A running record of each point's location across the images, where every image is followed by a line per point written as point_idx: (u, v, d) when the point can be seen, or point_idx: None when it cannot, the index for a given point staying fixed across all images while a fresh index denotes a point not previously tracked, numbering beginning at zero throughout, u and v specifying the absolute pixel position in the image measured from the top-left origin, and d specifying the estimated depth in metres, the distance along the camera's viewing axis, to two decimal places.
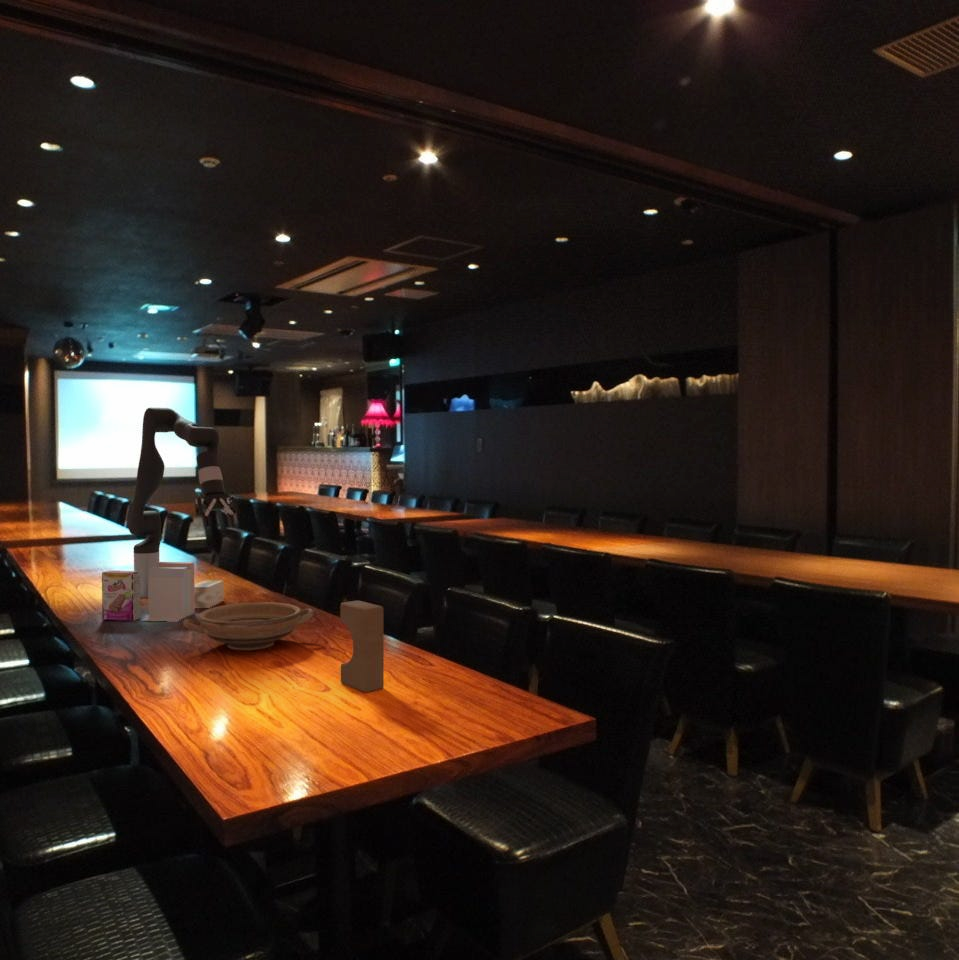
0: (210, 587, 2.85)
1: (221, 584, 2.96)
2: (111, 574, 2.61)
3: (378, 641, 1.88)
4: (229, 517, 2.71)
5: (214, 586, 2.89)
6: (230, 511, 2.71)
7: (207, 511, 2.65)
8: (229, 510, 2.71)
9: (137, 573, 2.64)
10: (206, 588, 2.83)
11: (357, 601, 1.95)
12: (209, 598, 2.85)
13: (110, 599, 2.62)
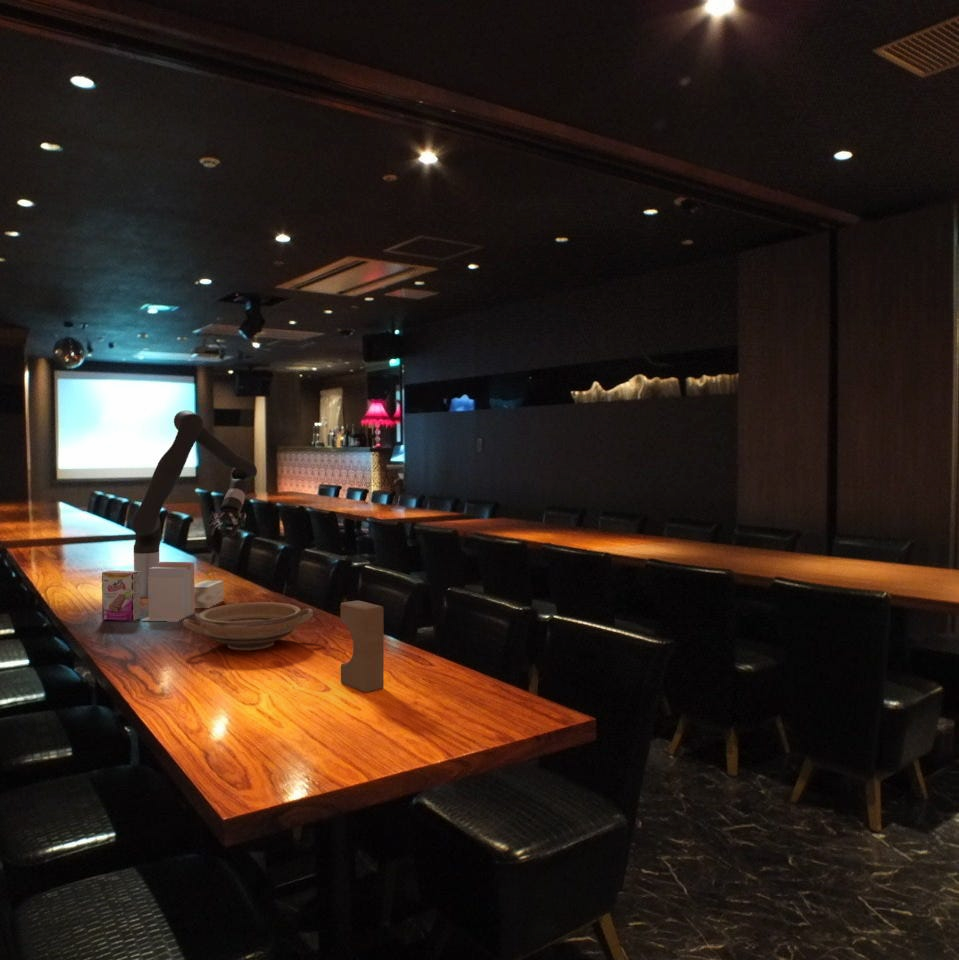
0: (210, 587, 2.85)
1: (221, 584, 2.96)
2: (111, 574, 2.61)
3: (378, 641, 1.88)
4: (214, 528, 3.07)
5: (214, 586, 2.89)
6: None
7: None
8: None
9: (137, 573, 2.64)
10: (206, 588, 2.83)
11: (357, 601, 1.95)
12: (209, 598, 2.85)
13: (110, 599, 2.62)
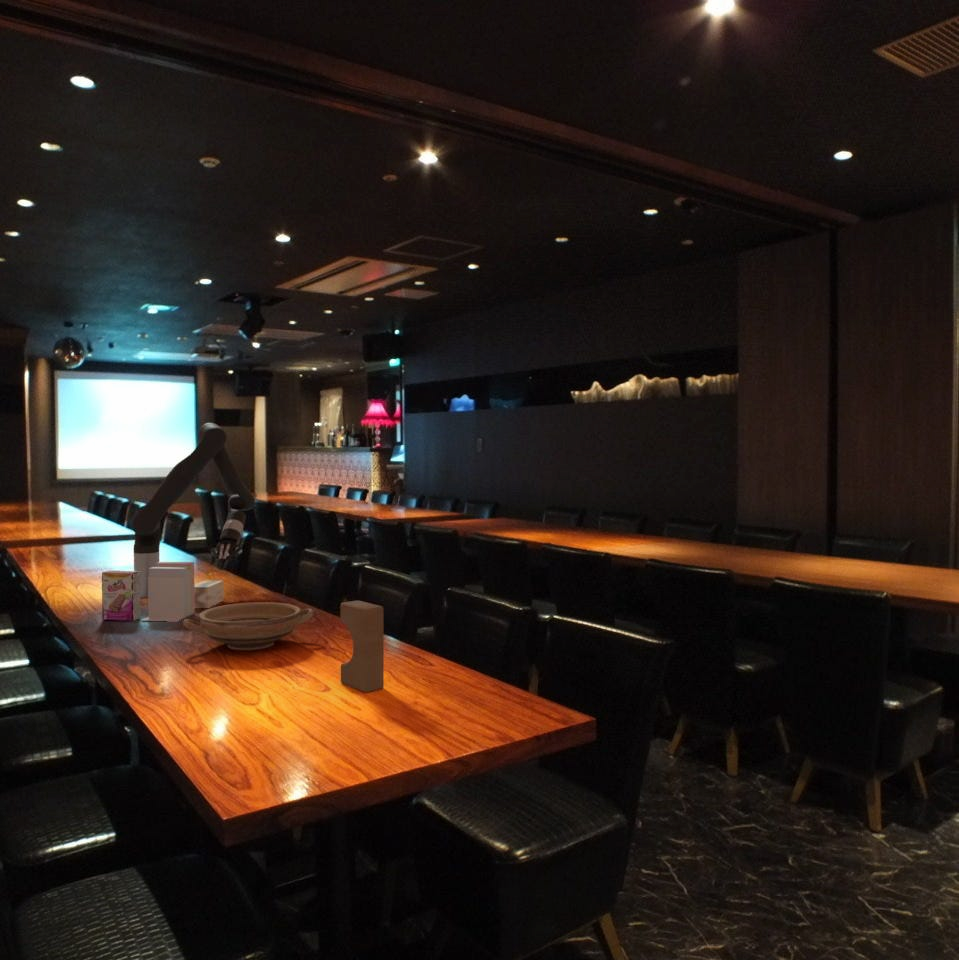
0: (210, 587, 2.85)
1: (221, 584, 2.96)
2: (111, 574, 2.61)
3: (378, 641, 1.88)
4: None
5: (214, 586, 2.89)
6: None
7: None
8: None
9: (137, 573, 2.64)
10: (206, 588, 2.83)
11: (357, 601, 1.95)
12: (209, 598, 2.85)
13: (110, 599, 2.62)
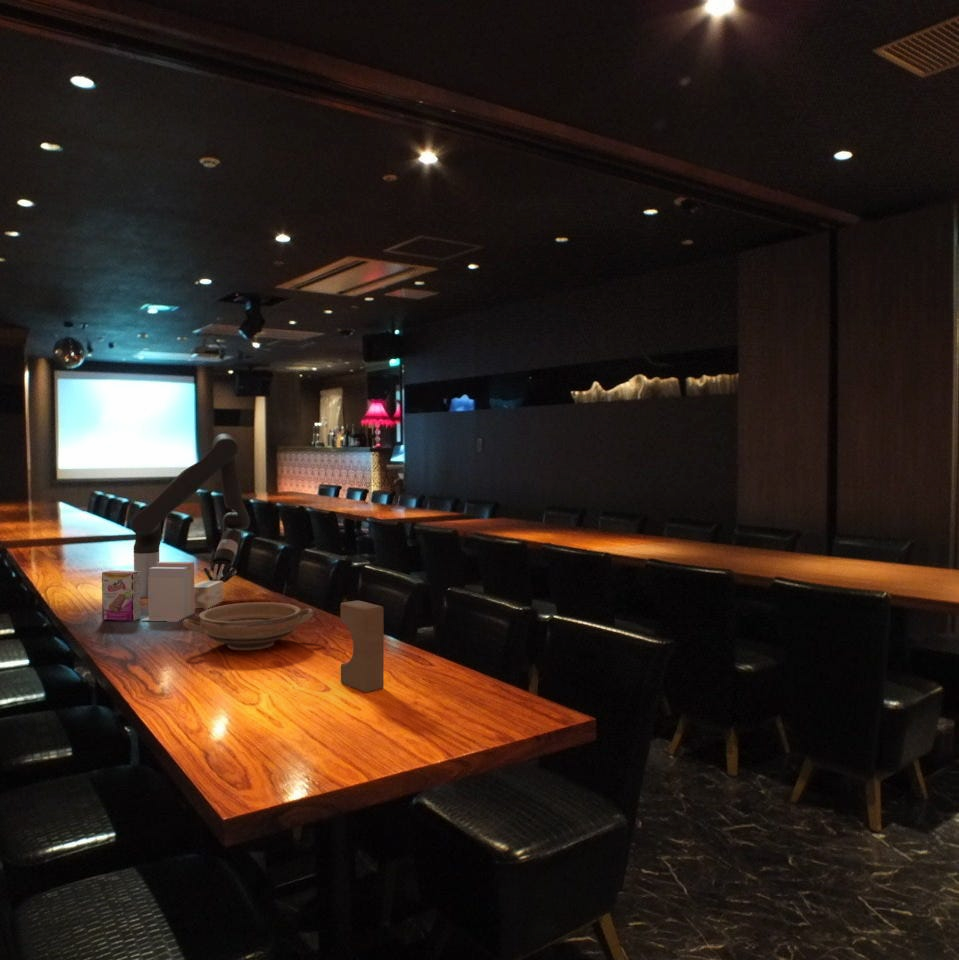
0: (210, 587, 2.85)
1: (221, 584, 2.95)
2: (111, 574, 2.61)
3: (378, 641, 1.88)
4: None
5: (214, 586, 2.88)
6: None
7: None
8: None
9: (137, 573, 2.64)
10: (206, 588, 2.82)
11: (357, 601, 1.95)
12: (209, 598, 2.84)
13: (110, 599, 2.62)
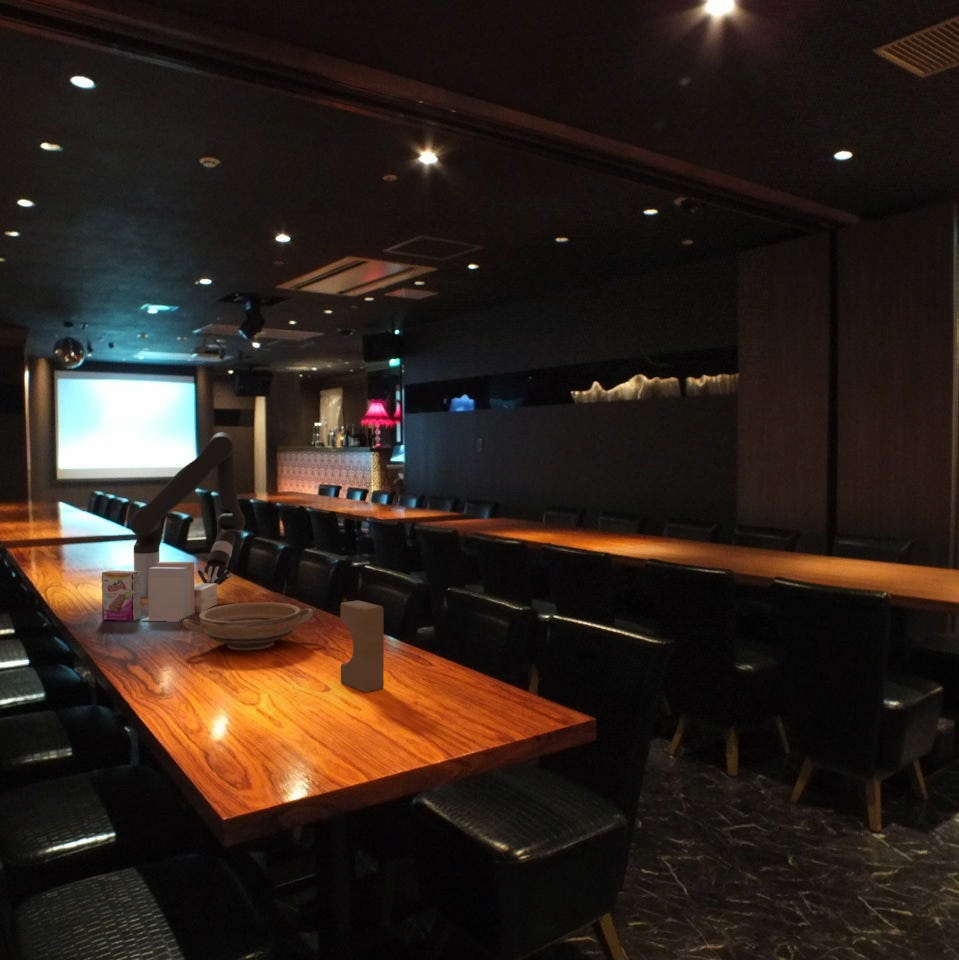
0: (204, 590, 2.79)
1: (215, 586, 2.89)
2: (111, 574, 2.61)
3: (378, 641, 1.88)
4: None
5: (208, 589, 2.82)
6: None
7: None
8: None
9: (137, 573, 2.64)
10: (200, 591, 2.76)
11: (357, 601, 1.95)
12: (203, 601, 2.78)
13: (110, 599, 2.62)
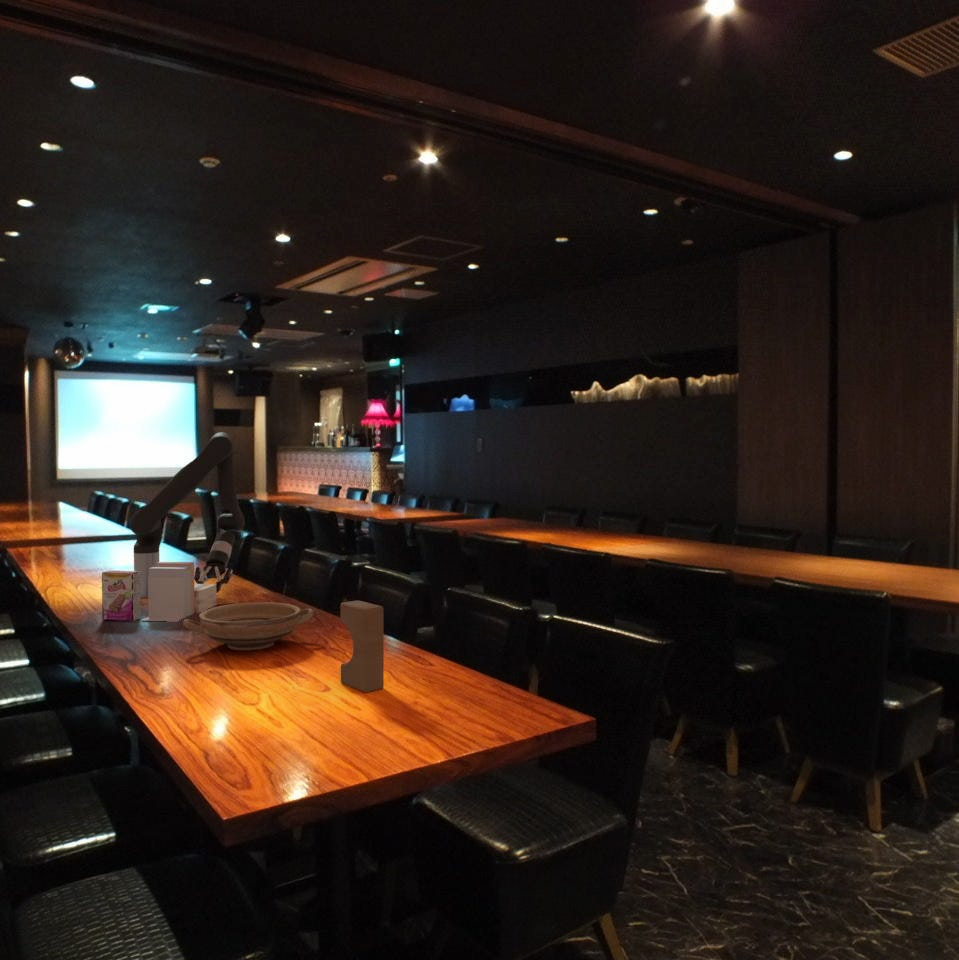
0: (201, 591, 2.77)
1: (215, 587, 2.88)
2: (111, 574, 2.61)
3: (378, 641, 1.88)
4: None
5: (206, 590, 2.81)
6: None
7: None
8: None
9: (137, 573, 2.64)
10: (197, 592, 2.75)
11: (357, 601, 1.95)
12: (201, 602, 2.77)
13: (110, 599, 2.62)
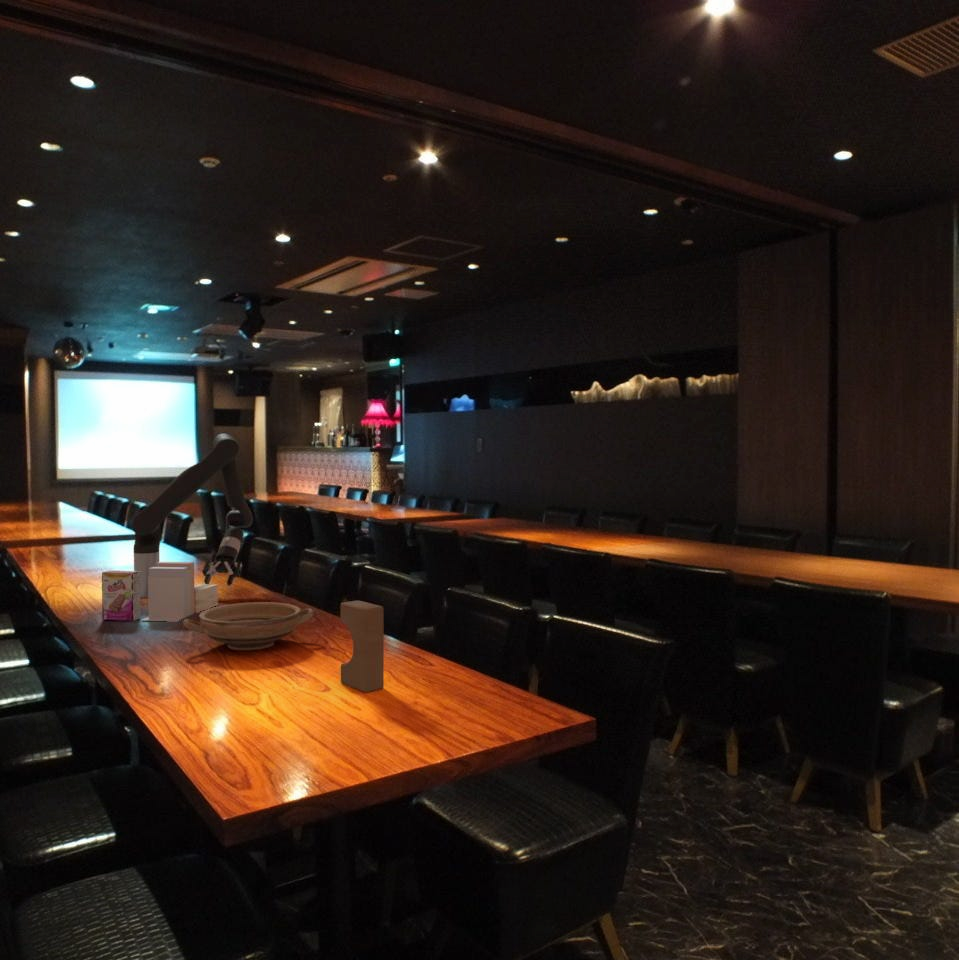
0: (199, 591, 2.77)
1: (216, 587, 2.87)
2: (111, 574, 2.61)
3: (378, 641, 1.88)
4: (209, 578, 3.03)
5: (205, 590, 2.81)
6: None
7: None
8: None
9: (137, 573, 2.64)
10: (194, 592, 2.75)
11: (357, 601, 1.95)
12: (199, 603, 2.77)
13: (110, 599, 2.62)
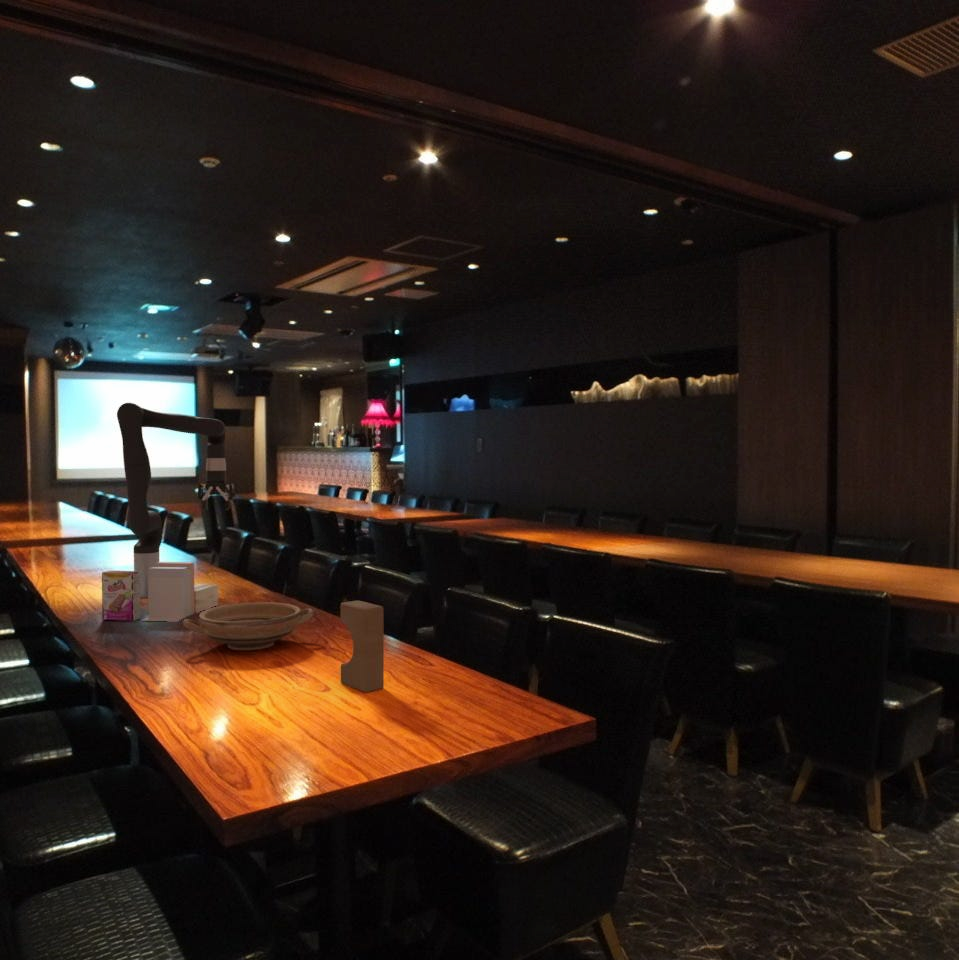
0: (199, 591, 2.77)
1: (216, 587, 2.87)
2: (111, 574, 2.61)
3: (378, 641, 1.88)
4: (207, 502, 3.15)
5: (205, 590, 2.81)
6: None
7: None
8: None
9: (137, 573, 2.64)
10: (194, 592, 2.75)
11: (357, 601, 1.95)
12: (198, 602, 2.77)
13: (110, 599, 2.62)
